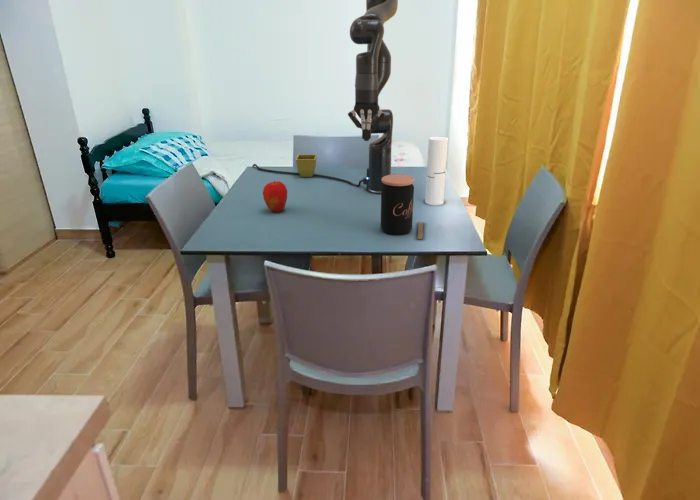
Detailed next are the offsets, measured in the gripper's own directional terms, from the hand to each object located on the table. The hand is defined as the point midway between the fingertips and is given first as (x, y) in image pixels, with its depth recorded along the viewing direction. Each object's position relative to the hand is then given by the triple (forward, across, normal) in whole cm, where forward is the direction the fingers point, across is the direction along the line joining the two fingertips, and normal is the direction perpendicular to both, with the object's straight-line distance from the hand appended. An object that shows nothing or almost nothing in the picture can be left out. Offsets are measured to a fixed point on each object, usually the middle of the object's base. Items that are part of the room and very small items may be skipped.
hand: (366, 140), depth 167 cm
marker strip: (+28, -20, +11) cm, 36 cm away
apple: (+28, +34, -1) cm, 45 cm away
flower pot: (+29, +35, -49) cm, 66 cm away
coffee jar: (+28, -12, +11) cm, 32 cm away
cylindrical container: (+28, -24, -19) cm, 42 cm away
